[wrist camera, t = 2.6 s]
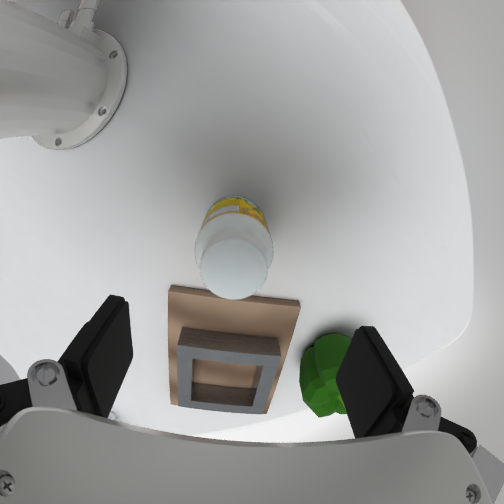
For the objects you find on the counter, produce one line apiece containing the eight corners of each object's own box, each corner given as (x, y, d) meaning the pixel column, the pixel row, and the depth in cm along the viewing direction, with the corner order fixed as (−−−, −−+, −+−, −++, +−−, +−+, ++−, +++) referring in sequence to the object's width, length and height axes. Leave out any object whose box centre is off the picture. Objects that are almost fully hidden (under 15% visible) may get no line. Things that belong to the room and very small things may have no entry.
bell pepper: (282, 340, 30) (297, 410, 21) (350, 312, 29) (386, 373, 20) (304, 382, 33) (320, 445, 24) (363, 358, 32) (391, 416, 23)
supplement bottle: (197, 205, 24) (173, 241, 16) (255, 187, 24) (265, 213, 15) (216, 259, 26) (206, 318, 17) (271, 243, 26) (288, 296, 17)
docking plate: (170, 285, 27) (168, 291, 26) (298, 300, 28) (300, 307, 27) (172, 397, 34) (170, 404, 32) (265, 407, 35) (266, 413, 34)
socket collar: (182, 326, 28) (177, 344, 25) (277, 337, 29) (281, 356, 26) (181, 388, 31) (178, 406, 28) (260, 396, 32) (262, 414, 29)
